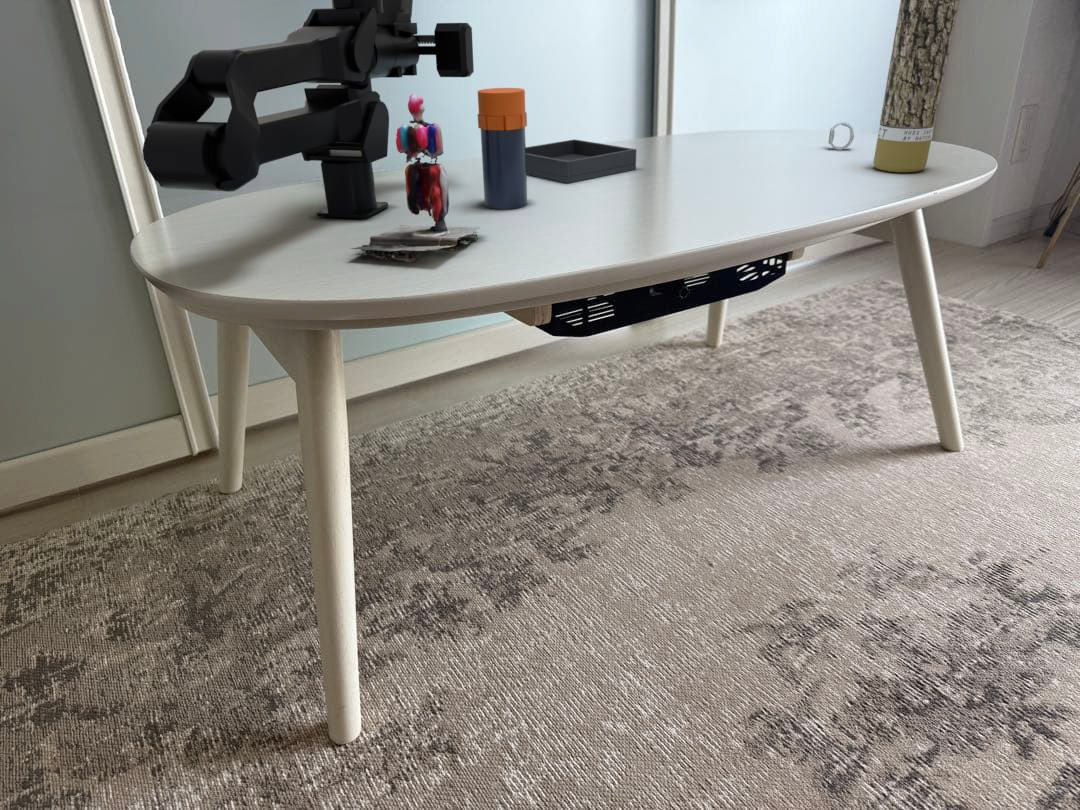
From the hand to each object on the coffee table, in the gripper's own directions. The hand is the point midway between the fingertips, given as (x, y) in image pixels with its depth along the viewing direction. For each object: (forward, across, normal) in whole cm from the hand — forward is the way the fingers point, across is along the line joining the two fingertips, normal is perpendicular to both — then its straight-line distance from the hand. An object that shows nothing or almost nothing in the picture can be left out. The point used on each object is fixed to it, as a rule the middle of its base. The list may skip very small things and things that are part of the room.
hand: (430, 48), depth 107 cm
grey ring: (+29, -56, +16) cm, 65 cm away
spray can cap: (-17, -17, +8) cm, 25 cm away
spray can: (-17, -17, +17) cm, 29 cm away
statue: (-37, -15, +18) cm, 44 cm away
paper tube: (+14, -64, +16) cm, 67 cm away
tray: (+5, -19, +16) cm, 25 cm away
